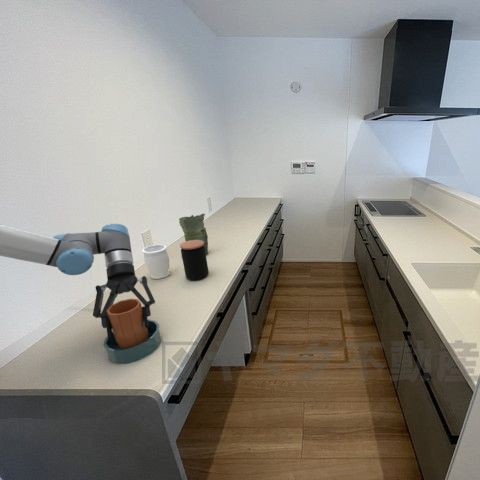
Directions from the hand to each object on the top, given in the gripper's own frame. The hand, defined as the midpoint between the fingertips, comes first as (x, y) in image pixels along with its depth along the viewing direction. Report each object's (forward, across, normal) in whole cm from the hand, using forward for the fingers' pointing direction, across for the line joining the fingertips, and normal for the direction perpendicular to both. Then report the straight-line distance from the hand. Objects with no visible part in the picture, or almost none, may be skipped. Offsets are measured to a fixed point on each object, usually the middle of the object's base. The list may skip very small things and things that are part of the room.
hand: (129, 331), depth 82 cm
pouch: (-45, -30, -58) cm, 79 cm away
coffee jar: (-26, -26, -38) cm, 53 cm away
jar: (-33, -10, -46) cm, 57 cm away
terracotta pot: (+2, 0, -6) cm, 7 cm away
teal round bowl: (+4, 0, -8) cm, 9 cm away
